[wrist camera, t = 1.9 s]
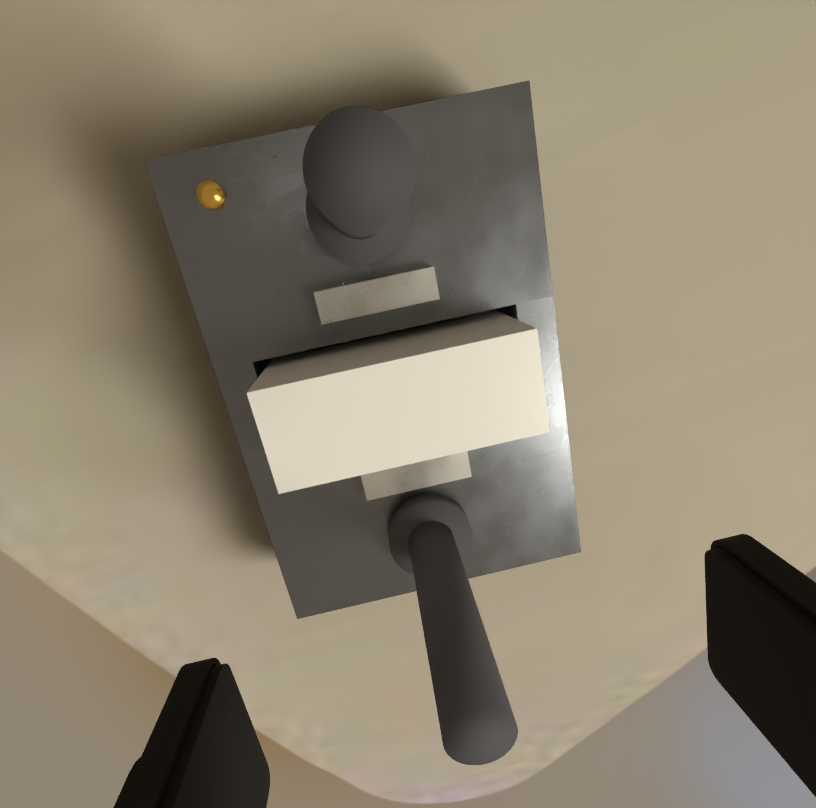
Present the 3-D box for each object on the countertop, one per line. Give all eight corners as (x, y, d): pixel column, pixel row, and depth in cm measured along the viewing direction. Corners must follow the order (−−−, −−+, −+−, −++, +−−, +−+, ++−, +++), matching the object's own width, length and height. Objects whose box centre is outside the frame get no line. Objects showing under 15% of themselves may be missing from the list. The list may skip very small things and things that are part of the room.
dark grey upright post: (296, 167, 23) (224, 72, 11) (397, 147, 23) (443, 28, 11) (322, 272, 25) (286, 295, 12) (417, 252, 25) (477, 255, 12)
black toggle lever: (380, 503, 29) (397, 700, 16) (460, 485, 29) (540, 666, 16) (397, 572, 30) (425, 801, 18) (474, 554, 30) (555, 769, 18)
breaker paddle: (272, 359, 28) (246, 392, 22) (495, 310, 29) (537, 328, 22) (296, 439, 30) (278, 494, 23) (507, 391, 30) (549, 432, 23)
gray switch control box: (186, 178, 28) (135, 156, 22) (495, 114, 29) (534, 74, 22) (306, 560, 36) (295, 628, 30) (546, 505, 37) (586, 559, 30)
